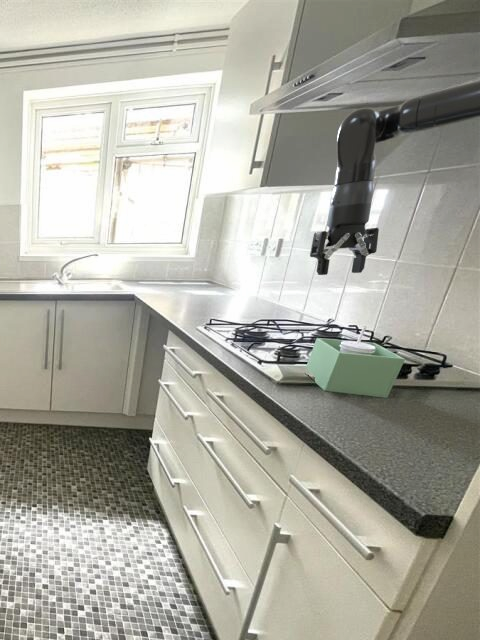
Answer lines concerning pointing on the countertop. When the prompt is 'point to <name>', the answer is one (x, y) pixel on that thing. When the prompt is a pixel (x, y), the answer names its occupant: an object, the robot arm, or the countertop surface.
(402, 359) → the bin
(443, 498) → the countertop surface
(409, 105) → the robot arm
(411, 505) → the countertop surface
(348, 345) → the smoothie
